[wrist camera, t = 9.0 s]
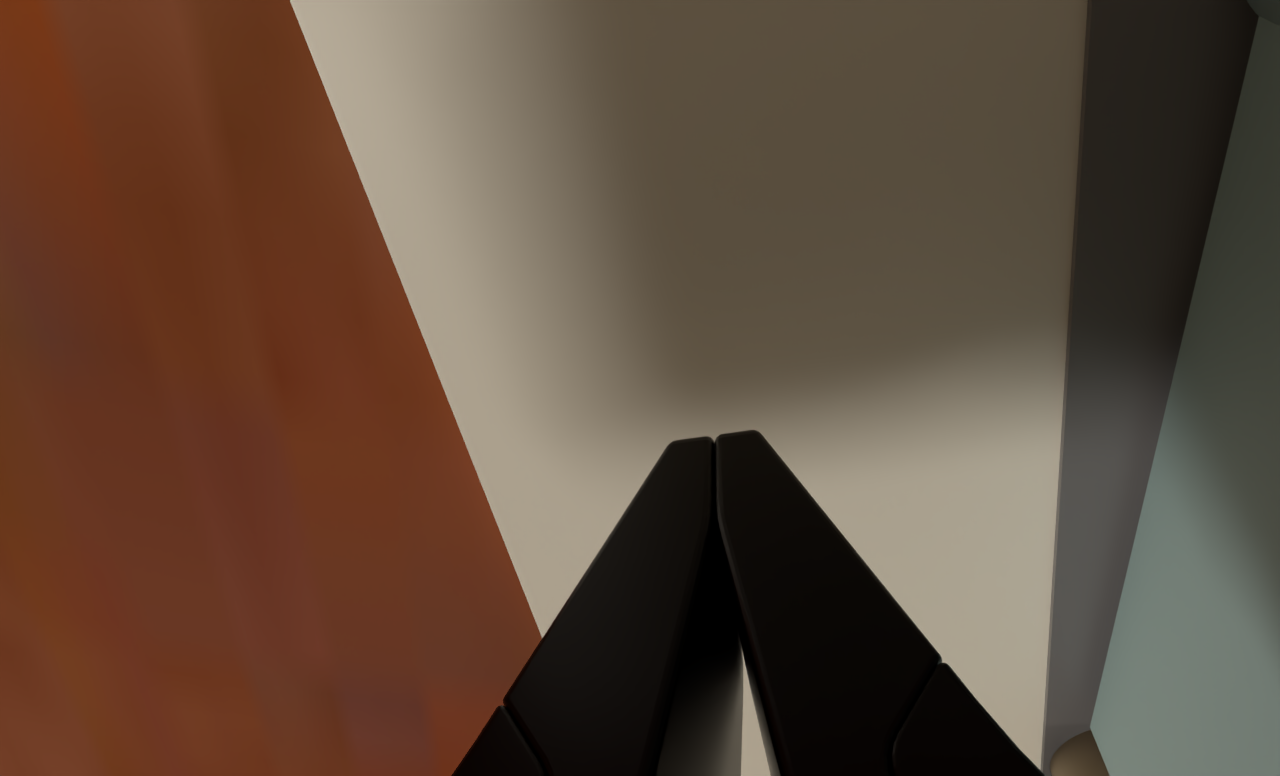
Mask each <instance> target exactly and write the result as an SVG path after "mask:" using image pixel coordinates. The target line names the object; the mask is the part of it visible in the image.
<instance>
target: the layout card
mask: <svg viewBox="0 0 1280 776" xmlns="http://www.w3.org/2000/svg"><path fill="white" fill-rule="evenodd" d="M290 2H291V4H292V7H293V9H294V12H295V14H296V17H297V19H298V22H299V24H300V27H301V29H302V32H303V34H304V37H305V40H306V42H307V45H308V47H309V50H310V52H311V55H312V57H313V60H314V62H315V65H316V67H317V70H318V72H319V75H320V77H321V80H322V82H323V85H324V88H325V90H326V93H327V95H328V98H329V100H330V103H331V105H332V108H333V110H334V113H335V115H336V118H337V120H338V123H339V125H340V128H341V131H342V133H343V136H344V138H345V141H346V143H347V146H348V148H349V151H350V153H351V156H352V158H353V161H354V163H355V166H356V168H357V171H358V173H359V176H360V179H361V181H362V184H363V186H364V189H365V191H366V194H367V196H368V199H369V201H370V204H371V206H372V209H373V211H374V214H375V216H376V219H377V222H378V224H379V227H380V229H381V232H382V234H383V237H384V239H385V242H386V244H387V247H388V249H389V252H390V254H391V257H392V259H393V262H394V264H395V267H396V270H397V272H398V275H399V277H400V280H401V282H402V285H403V287H404V290H405V292H406V295H407V297H408V300H409V302H410V305H411V307H412V310H413V313H414V315H415V318H416V320H417V323H418V325H419V328H420V330H421V333H422V335H423V338H424V340H425V343H426V345H427V348H428V350H429V353H430V355H431V358H432V361H433V363H434V366H435V368H436V371H437V373H438V376H439V378H440V381H441V383H442V386H443V388H444V391H445V393H446V396H447V398H448V401H449V403H450V406H451V409H452V411H453V414H454V416H455V419H456V421H457V424H458V426H459V429H460V431H461V434H462V436H463V439H464V441H465V444H466V446H467V449H468V452H469V454H470V457H471V459H472V462H473V464H474V467H475V469H476V472H477V474H478V477H479V479H480V482H481V484H482V487H483V489H484V492H485V494H486V497H487V500H488V502H489V505H490V507H491V510H492V512H493V515H494V517H495V520H496V522H497V525H498V527H499V530H500V532H501V535H502V537H503V540H504V543H505V545H506V548H507V550H508V553H509V555H510V558H511V560H512V563H513V565H514V568H515V570H516V573H517V575H518V578H519V580H520V583H521V585H522V588H523V591H524V593H525V596H526V598H527V601H528V603H529V606H530V608H531V611H532V613H533V616H534V618H535V621H536V623H537V626H538V628H539V631H540V634H541V636H542V638H543V637H544V635H545V633H546V632H547V630H548V629H549V627H550V626H551V624H552V623H553V621H554V620H555V618H556V616H557V615H558V613H559V612H560V610H561V609H562V607H563V606H564V604H565V603H566V601H567V600H568V598H569V596H570V595H571V593H572V592H573V590H574V589H575V587H576V586H577V584H578V583H579V581H580V579H581V578H582V576H583V575H584V573H585V572H586V570H587V569H588V567H589V566H590V564H591V562H592V561H593V559H594V558H595V556H596V555H597V553H598V552H599V550H600V549H601V547H602V546H603V544H604V542H605V541H606V539H607V538H608V536H609V535H610V533H611V532H612V530H613V529H614V527H615V525H616V524H617V522H618V521H619V519H620V518H621V516H622V515H623V513H624V512H625V510H626V508H627V507H628V505H629V504H630V502H631V501H632V499H633V498H634V496H635V495H636V493H637V492H638V490H639V488H640V487H641V485H642V484H643V482H644V481H645V479H646V478H647V476H648V475H649V473H650V471H651V470H652V468H653V467H654V465H655V464H656V462H657V461H658V459H659V458H660V456H661V454H662V453H663V451H664V450H665V448H666V447H667V445H668V444H669V443H671V442H672V441H675V440H680V439H688V438H695V437H703V436H709V437H711V438H712V439H713V440H714V442H715V440H716V437H717V436H719V435H720V434H725V433H732V432H739V431H747V430H756V431H759V432H760V433H761V434H762V435H763V436H764V438H765V439H766V440H767V441H768V443H769V444H770V445H771V446H772V447H773V449H774V450H775V451H776V452H777V454H778V455H779V456H780V457H781V459H782V460H783V461H784V462H785V464H786V465H787V466H788V467H789V469H790V470H791V471H792V472H793V473H794V475H795V476H796V477H797V478H798V480H799V481H800V482H801V483H802V485H803V486H804V487H805V488H806V490H807V491H808V492H809V493H810V494H811V496H812V497H813V498H814V499H815V501H816V502H817V503H818V504H819V506H820V507H821V508H822V509H823V511H824V512H825V513H826V514H827V516H828V517H829V518H830V519H831V520H832V522H833V523H834V524H835V525H836V527H837V528H838V529H839V530H840V532H841V533H842V534H843V535H844V537H845V538H846V539H847V540H848V542H849V543H850V544H851V545H852V546H853V548H854V549H855V550H856V551H857V553H858V554H859V555H860V556H861V558H862V559H863V560H864V561H865V563H866V564H867V565H868V566H869V568H870V569H871V570H872V571H873V572H874V574H875V575H876V576H877V577H878V579H879V580H880V581H881V582H882V584H883V585H884V586H885V587H886V589H887V590H888V591H889V592H890V594H891V595H892V596H893V597H894V598H895V600H896V601H897V602H898V603H899V605H900V606H901V607H902V608H903V610H904V611H905V612H906V613H907V615H908V616H909V617H910V618H911V620H912V621H913V622H914V623H915V624H916V626H917V627H918V628H919V629H920V631H921V632H922V633H923V634H924V636H925V637H926V638H927V639H928V641H929V642H930V643H931V644H932V645H933V647H934V648H935V649H936V650H937V652H938V653H939V654H940V655H941V657H942V663H947V664H948V665H949V666H950V667H951V668H952V670H953V671H954V672H955V673H956V674H957V676H958V677H959V678H960V679H961V681H962V682H963V683H964V684H965V686H966V687H967V688H968V689H969V691H970V692H971V693H972V694H973V696H974V697H975V698H976V699H977V700H978V701H979V703H980V704H981V705H982V706H983V707H984V708H985V710H986V711H987V712H988V713H989V714H990V715H991V716H992V718H993V719H994V720H995V721H996V722H997V723H998V725H999V726H1000V727H1001V728H1002V729H1003V730H1004V731H1005V733H1006V734H1007V735H1008V736H1009V737H1010V738H1011V740H1012V741H1013V742H1014V743H1015V744H1016V745H1017V746H1018V748H1019V749H1020V750H1021V751H1022V752H1023V753H1024V754H1025V755H1026V756H1027V757H1028V758H1029V759H1030V760H1031V761H1032V762H1033V763H1034V764H1035V765H1036V766H1037V767H1038V768H1039V769H1040V770H1041V771H1042V772H1043V773H1044V774H1045V775H1046V776H1052V774H1051V771H1050V762H1051V759H1052V756H1053V755H1054V753H1055V752H1056V750H1057V749H1058V748H1059V747H1060V746H1061V745H1062V744H1064V743H1065V742H1066V741H1068V740H1069V739H1071V738H1073V737H1074V736H1076V735H1078V734H1081V733H1083V732H1085V731H1088V730H1091V729H1090V724H1091V720H1092V716H1093V712H1094V707H1095V703H1096V699H1097V695H1098V691H1099V686H1100V682H1101V678H1102V674H1103V670H1104V665H1105V661H1106V657H1107V653H1108V649H1109V644H1110V640H1111V636H1112V632H1113V628H1114V623H1115V619H1116V615H1117V611H1118V607H1119V602H1120V598H1121V594H1122V590H1123V586H1124V581H1125V577H1126V573H1127V569H1128V565H1129V560H1130V556H1131V552H1132V548H1133V544H1134V539H1135V535H1136V531H1137V527H1138V523H1139V518H1140V514H1141V510H1142V506H1143V502H1144V497H1145V493H1146V489H1147V485H1148V481H1149V476H1150V472H1151V468H1152V464H1153V460H1154V455H1155V451H1156V447H1157V443H1158V438H1159V434H1160V430H1161V426H1162V422H1163V417H1164V413H1165V409H1166V405H1167V401H1168V396H1169V392H1170V388H1171V384H1172V380H1173V375H1174V371H1175V367H1176V363H1177V359H1178V354H1179V350H1180V346H1181V342H1182V338H1183V333H1184V329H1185V325H1186V321H1187V317H1188V312H1189V308H1190V304H1191V300H1192V296H1193V291H1194V287H1195V283H1196V279H1197V275H1198V270H1199V266H1200V262H1201V258H1202V254H1203V249H1204V245H1205V241H1206V237H1207V233H1208V228H1209V224H1210V220H1211V216H1212V212H1213V207H1214V203H1215V199H1216V195H1217V191H1218V186H1219V182H1220V178H1221V174H1222V170H1223V165H1224V161H1225V157H1226V153H1227V149H1228V144H1229V140H1230V136H1231V132H1232V128H1233V123H1234V119H1235V115H1236V111H1237V107H1238V102H1239V98H1240V94H1241V90H1242V86H1243V81H1244V77H1245V73H1246V69H1247V65H1248V60H1249V56H1250V52H1251V48H1252V44H1253V39H1254V35H1255V31H1256V27H1257V23H1258V18H1259V16H1258V15H1257V14H1256V13H1255V12H1254V10H1253V9H1252V8H1251V6H1250V5H1249V3H1248V2H1247V0H290ZM742 653H743V651H742ZM741 776H771V775H770V770H769V766H768V762H767V758H766V753H765V749H764V745H763V741H762V736H761V732H760V728H759V723H758V719H757V715H756V711H755V706H754V702H753V698H752V694H751V689H750V685H749V680H748V675H747V670H746V665H745V661H744V656H743V720H742V755H741Z"/></svg>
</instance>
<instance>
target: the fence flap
mask: <svg viewBox="0 0 1280 776" xmlns="http://www.w3.org/2000/svg"><path fill="white" fill-rule="evenodd" d="M1247 2H1248V3H1249V5H1250V6H1251V8H1252V9H1253V10H1254V12H1255V13H1256V14H1257V15H1258V16H1259V18H1258V23H1257V27H1256V31H1255V35H1254V39H1253V44H1252V48H1251V52H1250V56H1249V60H1248V65H1247V69H1246V73H1245V77H1244V81H1243V86H1242V90H1241V94H1240V98H1239V102H1238V107H1237V111H1236V115H1235V119H1234V123H1233V128H1232V132H1231V136H1230V140H1229V144H1228V149H1227V153H1226V157H1225V161H1224V165H1223V170H1222V174H1221V178H1220V182H1219V186H1218V191H1217V195H1216V199H1215V203H1214V207H1213V212H1212V216H1211V220H1210V224H1209V228H1208V233H1207V237H1206V241H1205V245H1204V249H1203V254H1202V258H1201V262H1200V266H1199V270H1198V275H1197V279H1196V283H1195V287H1194V291H1193V296H1192V300H1191V304H1190V308H1189V312H1188V317H1187V321H1186V325H1185V329H1184V333H1183V338H1182V342H1181V346H1180V350H1179V354H1178V359H1177V363H1176V367H1175V371H1174V375H1173V380H1172V384H1171V388H1170V392H1169V396H1168V401H1167V405H1166V409H1165V413H1164V417H1163V422H1162V426H1161V430H1160V434H1159V438H1158V443H1157V447H1156V451H1155V455H1154V460H1153V464H1152V468H1151V472H1150V476H1149V481H1148V485H1147V489H1146V493H1145V497H1144V502H1143V506H1142V510H1141V514H1140V518H1139V523H1138V527H1137V531H1136V535H1135V539H1134V544H1133V548H1132V552H1131V556H1130V560H1129V565H1128V569H1127V573H1126V577H1125V581H1124V586H1123V590H1122V594H1121V598H1120V602H1119V607H1118V611H1117V615H1116V619H1115V623H1114V628H1113V632H1112V636H1111V640H1110V644H1109V649H1108V653H1107V657H1106V661H1105V665H1104V670H1103V674H1102V678H1101V682H1100V686H1099V691H1098V695H1097V699H1096V703H1095V707H1094V712H1093V716H1092V720H1091V724H1090V729H1091V731H1092V734H1093V736H1094V738H1095V741H1096V743H1097V746H1098V748H1099V751H1100V753H1101V756H1102V758H1103V761H1104V763H1105V765H1106V768H1107V770H1108V773H1109V775H1110V776H1280V0H1247Z"/></svg>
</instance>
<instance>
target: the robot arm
mask: <svg viewBox="0 0 1280 776" xmlns="http://www.w3.org/2000/svg"><path fill="white" fill-rule="evenodd" d="M742 651H743V653H742ZM743 656H744V661H745V665H746V670H747V675H748V680H749V685H750V689H751V694H752V698H753V702H754V706H755V711H756V715H757V719H758V723H759V728H760V732H761V736H762V741H763V745H764V749H765V753H766V758H767V762H768V766H769V770H770V775H771V776H1046V775H1045V774H1044V773H1043V772H1042V771H1041V770H1040V769H1039V768H1038V767H1037V766H1036V765H1035V764H1034V763H1033V762H1032V761H1031V760H1030V759H1029V758H1028V757H1027V756H1026V755H1025V754H1024V753H1023V752H1022V751H1021V750H1020V749H1019V748H1018V746H1017V745H1016V744H1015V743H1014V742H1013V741H1012V740H1011V738H1010V737H1009V736H1008V735H1007V734H1006V733H1005V731H1004V730H1003V729H1002V728H1001V727H1000V726H999V725H998V723H997V722H996V721H995V720H994V719H993V718H992V716H991V715H990V714H989V713H988V712H987V711H986V710H985V708H984V707H983V706H982V705H981V704H980V703H979V701H978V700H977V699H976V698H975V697H974V696H973V694H972V693H971V692H970V691H969V689H968V688H967V687H966V686H965V684H964V683H963V682H962V681H961V679H960V678H959V677H958V676H957V674H956V673H955V672H954V671H953V670H952V668H951V667H950V666H949V665H948V664H947V663H942V657H941V655H940V654H939V653H938V652H937V650H936V649H935V648H934V647H933V645H932V644H931V643H930V642H929V641H928V639H927V638H926V637H925V636H924V634H923V633H922V632H921V631H920V629H919V628H918V627H917V626H916V624H915V623H914V622H913V621H912V620H911V618H910V617H909V616H908V615H907V613H906V612H905V611H904V610H903V608H902V607H901V606H900V605H899V603H898V602H897V601H896V600H895V598H894V597H893V596H892V595H891V594H890V592H889V591H888V590H887V589H886V587H885V586H884V585H883V584H882V582H881V581H880V580H879V579H878V577H877V576H876V575H875V574H874V572H873V571H872V570H871V569H870V568H869V566H868V565H867V564H866V563H865V561H864V560H863V559H862V558H861V556H860V555H859V554H858V553H857V551H856V550H855V549H854V548H853V546H852V545H851V544H850V543H849V542H848V540H847V539H846V538H845V537H844V535H843V534H842V533H841V532H840V530H839V529H838V528H837V527H836V525H835V524H834V523H833V522H832V520H831V519H830V518H829V517H828V516H827V514H826V513H825V512H824V511H823V509H822V508H821V507H820V506H819V504H818V503H817V502H816V501H815V499H814V498H813V497H812V496H811V494H810V493H809V492H808V491H807V490H806V488H805V487H804V486H803V485H802V483H801V482H800V481H799V480H798V478H797V477H796V476H795V475H794V473H793V472H792V471H791V470H790V469H789V467H788V466H787V465H786V464H785V462H784V461H783V460H782V459H781V457H780V456H779V455H778V454H777V452H776V451H775V450H774V449H773V447H772V446H771V445H770V444H769V443H768V441H767V440H766V439H765V438H764V436H763V435H762V434H761V433H760V432H759V431H756V430H747V431H739V432H732V433H725V434H720V435H719V436H717V437H716V440H715V442H714V440H713V439H712V438H711V437H709V436H703V437H695V438H688V439H680V440H675V441H672V442H671V443H669V444H668V445H667V447H666V448H665V450H664V451H663V453H662V454H661V456H660V458H659V459H658V461H657V462H656V464H655V465H654V467H653V468H652V470H651V471H650V473H649V475H648V476H647V478H646V479H645V481H644V482H643V484H642V485H641V487H640V488H639V490H638V492H637V493H636V495H635V496H634V498H633V499H632V501H631V502H630V504H629V505H628V507H627V508H626V510H625V512H624V513H623V515H622V516H621V518H620V519H619V521H618V522H617V524H616V525H615V527H614V529H613V530H612V532H611V533H610V535H609V536H608V538H607V539H606V541H605V542H604V544H603V546H602V547H601V549H600V550H599V552H598V553H597V555H596V556H595V558H594V559H593V561H592V562H591V564H590V566H589V567H588V569H587V570H586V572H585V573H584V575H583V576H582V578H581V579H580V581H579V583H578V584H577V586H576V587H575V589H574V590H573V592H572V593H571V595H570V596H569V598H568V600H567V601H566V603H565V604H564V606H563V607H562V609H561V610H560V612H559V613H558V615H557V616H556V618H555V620H554V621H553V623H552V624H551V626H550V627H549V629H548V630H547V632H546V633H545V635H544V637H543V638H542V640H541V641H540V643H539V644H538V646H537V647H536V649H535V650H534V652H533V654H532V655H531V657H530V658H529V660H528V661H527V663H526V664H525V666H524V667H523V669H522V670H521V672H520V674H519V675H518V677H517V678H516V680H515V681H514V683H513V684H512V686H511V687H510V689H509V691H508V692H507V694H506V695H505V697H504V699H503V703H504V706H502V705H501V706H498V707H497V708H496V710H495V711H494V713H493V715H492V716H491V718H490V719H489V721H488V722H487V724H486V725H485V727H484V728H483V730H482V732H481V733H480V735H479V736H478V738H477V739H476V741H475V742H474V744H473V745H472V747H471V748H470V749H469V751H468V752H467V754H466V755H465V757H464V758H463V760H462V761H461V763H460V764H459V765H458V767H457V768H456V770H455V771H454V773H453V774H452V776H741V755H742V720H743Z"/></svg>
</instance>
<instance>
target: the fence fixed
mask: <svg viewBox="0 0 1280 776" xmlns="http://www.w3.org/2000/svg"><path fill="white" fill-rule="evenodd" d="M1050 771H1051V774H1052V776H1110V775H1109V773H1108V770H1107V768H1106V765H1105V763H1104V761H1103V758H1102V756H1101V753H1100V751H1099V748H1098V746H1097V743H1096V741H1095V738H1094V736H1093V734H1092V731H1091V730H1088V731H1085V732H1083V733H1081V734H1078V735H1076V736H1074V737H1073V738H1071V739H1069V740H1068V741H1066V742H1065V743H1064V744H1062V745H1061V746H1060V747H1059V748H1058V749H1057V750H1056V752H1055V753H1054V755H1053V756H1052V759H1051V762H1050Z"/></svg>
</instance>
